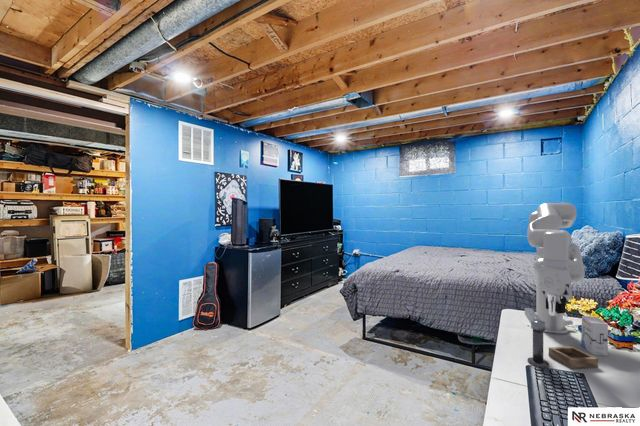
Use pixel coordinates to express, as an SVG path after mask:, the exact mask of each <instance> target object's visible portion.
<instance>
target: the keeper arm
mask: <svg viewBox="0 0 640 426" xmlns="http://www.w3.org/2000/svg"><path fill="white" fill-rule="evenodd" d="M524 315H525V317H526V319H527V320H528V321H529V324H530V329H532V330H533V329H534V330H537V331H543V332H544V331H545V322H544V321H541V320H540V318H539V317H538V316H537V314H536V312H535V311H534V309H533V308H531V307H530V308H529V307H524Z"/></svg>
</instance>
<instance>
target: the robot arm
mask: <svg viewBox="0 0 640 426" xmlns="http://www.w3.org/2000/svg"><path fill="white" fill-rule="evenodd" d="M577 214H578V213H577V208H576V206H575V205H574V204H572V203H570V202H546V203H545V202H544V203H542V204H540V205H539V206H537V208H536V211H534V212H531V213H530V214H529V216H528V227H527V231H526V232H527V233H526V237H527V242H528V244H529V245H530V246H531V247H532V248H535V249H536V255H537V258H538V259H536V260H535V261H534V263H533V270H534V276H535V282H536V283H535V285H536V287H535V288H536V292H535V293H536V303H535V304H536V308H535V309H536V312H535V313H536V314H537V316H538V317H539V318H540V320H541V321H544V322H545V331H543V333H544V332H545V333H549V334H553V335H554V334H555V335H564V334H567V333H568V328H567V327H566V326H572V325H573V324H574V322H573V321H572V320H570V319H569V320H565V319H564V314H565V313H566V304H567V303H568V302H570V301H571V300H573V299H574V296H573V294H572V283H579V282H582V281H583V280H584V279H585V278H586V276H585V275H586V272H585V266H584V261H583V257H582V252H581V249H580V247H579V245H578V244H577V243H574V242H572V235H571V234H570V233H569V232H568V231H567V230H564V229H567V228H571V227H572V226H573V225H574V223H575V221H576V219H577ZM547 293H551V294H554V295H557V300H558V303H556V313H558V314H559V313H560V315H559V316H551V315H549V309H548V297H547ZM561 296H562V299H561Z"/></svg>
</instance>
